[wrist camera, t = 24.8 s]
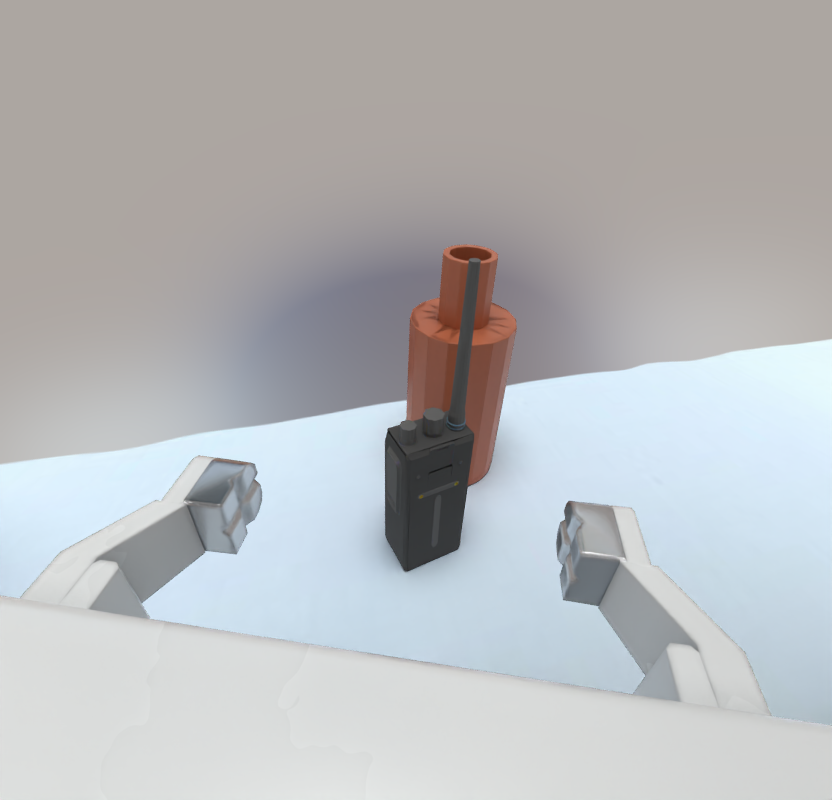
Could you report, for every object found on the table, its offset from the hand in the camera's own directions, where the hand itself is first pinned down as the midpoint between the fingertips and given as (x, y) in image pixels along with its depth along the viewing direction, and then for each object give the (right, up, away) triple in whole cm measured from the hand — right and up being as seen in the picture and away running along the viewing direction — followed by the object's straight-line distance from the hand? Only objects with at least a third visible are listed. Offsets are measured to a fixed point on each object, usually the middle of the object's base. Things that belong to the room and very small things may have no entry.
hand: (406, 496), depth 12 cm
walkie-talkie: (+1, -8, +21) cm, 22 cm away
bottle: (+3, -2, +27) cm, 28 cm away
